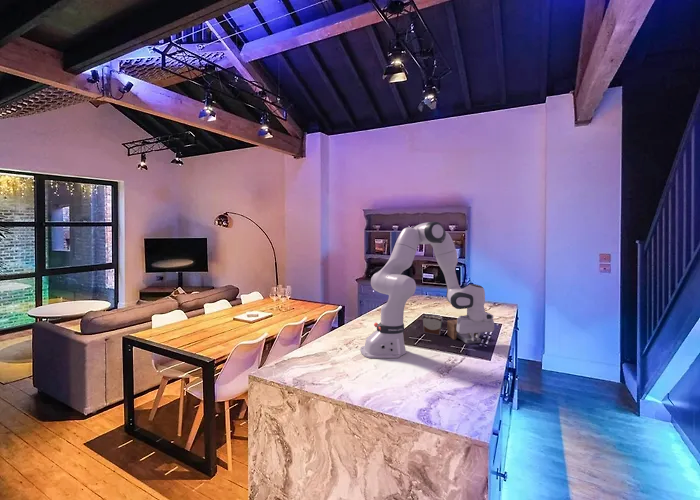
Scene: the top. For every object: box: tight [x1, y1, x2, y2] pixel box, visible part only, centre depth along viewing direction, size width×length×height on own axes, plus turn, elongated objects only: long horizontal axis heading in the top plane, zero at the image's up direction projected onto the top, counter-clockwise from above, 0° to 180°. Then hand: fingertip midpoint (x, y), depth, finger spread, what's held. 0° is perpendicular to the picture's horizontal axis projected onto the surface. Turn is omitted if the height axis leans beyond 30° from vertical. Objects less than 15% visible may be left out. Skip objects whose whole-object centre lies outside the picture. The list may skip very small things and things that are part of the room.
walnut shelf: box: [446, 319, 476, 340], centre depth 204 cm, size 15×8×8 cm, turn 102°
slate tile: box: [456, 333, 482, 345], centre depth 199 cm, size 8×12×2 cm, turn 12°
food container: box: [421, 313, 444, 336], centre depth 211 cm, size 12×6×10 cm, turn 58°
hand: (474, 340), depth 192 cm, fingers closed
